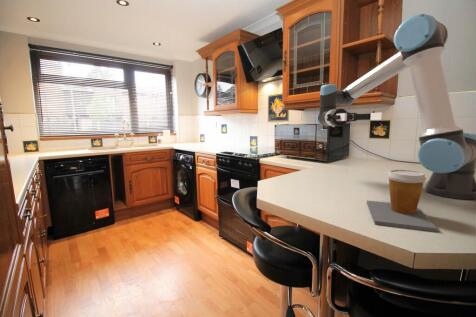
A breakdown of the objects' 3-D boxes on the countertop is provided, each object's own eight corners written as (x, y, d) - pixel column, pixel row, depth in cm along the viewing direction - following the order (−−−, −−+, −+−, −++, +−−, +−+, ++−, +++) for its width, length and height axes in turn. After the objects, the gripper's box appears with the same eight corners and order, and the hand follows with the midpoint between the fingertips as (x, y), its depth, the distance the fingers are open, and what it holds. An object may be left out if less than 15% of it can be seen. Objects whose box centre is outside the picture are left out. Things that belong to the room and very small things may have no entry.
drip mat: (415, 207, 77) (415, 205, 77) (436, 231, 61) (437, 228, 60) (366, 203, 82) (366, 200, 82) (374, 224, 66) (374, 220, 66)
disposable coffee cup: (414, 206, 76) (417, 169, 74) (429, 218, 67) (433, 176, 65) (380, 204, 78) (383, 168, 76) (390, 215, 69) (394, 175, 67)
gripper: (363, 125, 107) (396, 126, 86) (309, 126, 106) (329, 127, 85) (364, 108, 106) (398, 105, 85) (309, 109, 105) (330, 106, 84)
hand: (364, 116), depth 85 cm, fingers open, 13 cm apart
